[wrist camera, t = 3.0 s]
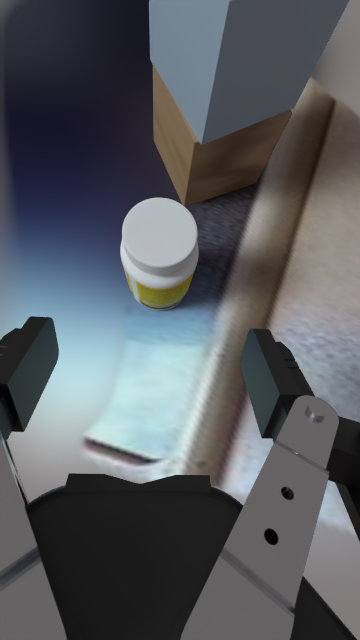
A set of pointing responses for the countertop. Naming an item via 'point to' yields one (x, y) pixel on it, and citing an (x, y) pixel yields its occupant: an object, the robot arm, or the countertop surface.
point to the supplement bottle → (159, 252)
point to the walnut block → (210, 150)
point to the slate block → (238, 57)
